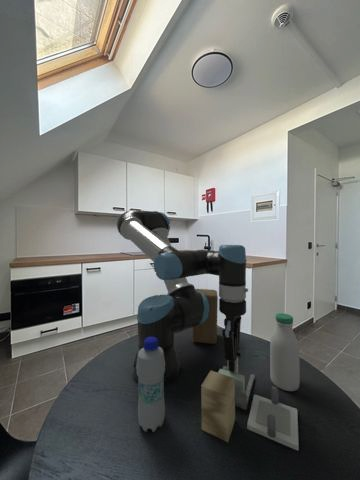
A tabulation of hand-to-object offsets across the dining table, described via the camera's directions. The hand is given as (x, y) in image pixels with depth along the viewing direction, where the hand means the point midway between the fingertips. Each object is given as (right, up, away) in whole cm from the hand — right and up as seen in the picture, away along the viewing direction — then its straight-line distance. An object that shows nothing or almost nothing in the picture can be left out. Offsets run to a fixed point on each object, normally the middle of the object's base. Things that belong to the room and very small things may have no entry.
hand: (232, 379), depth 58 cm
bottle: (-22, -3, -11) cm, 25 cm away
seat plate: (+7, -2, -11) cm, 13 cm away
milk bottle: (+16, -2, +2) cm, 16 cm away
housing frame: (0, -2, 0) cm, 2 cm away
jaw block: (-6, -2, -12) cm, 14 cm away
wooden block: (-5, -2, +28) cm, 29 cm away
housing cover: (-1, -2, -2) cm, 3 cm away
